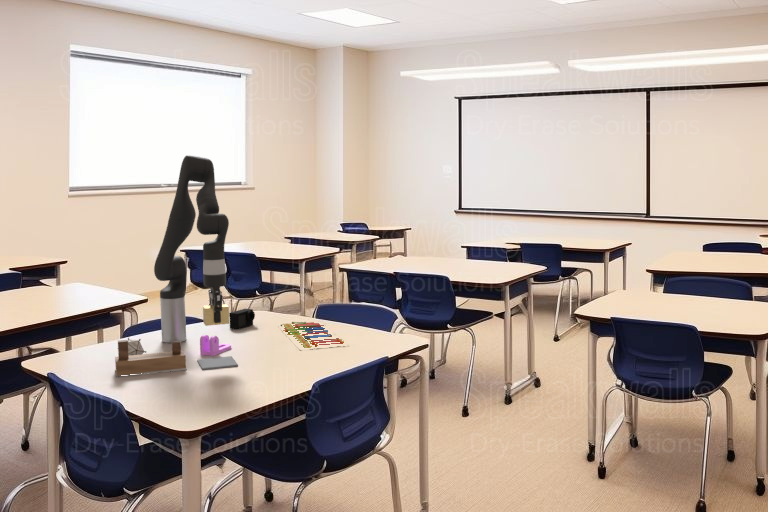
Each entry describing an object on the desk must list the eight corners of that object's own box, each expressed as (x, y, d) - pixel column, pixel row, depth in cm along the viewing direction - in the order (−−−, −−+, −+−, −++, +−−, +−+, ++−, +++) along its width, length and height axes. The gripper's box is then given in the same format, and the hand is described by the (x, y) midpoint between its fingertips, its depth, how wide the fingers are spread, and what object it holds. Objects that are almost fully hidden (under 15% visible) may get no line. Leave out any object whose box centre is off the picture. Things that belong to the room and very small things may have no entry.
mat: (197, 361, 259) (197, 359, 259) (231, 357, 264) (231, 356, 264) (202, 370, 248) (202, 368, 248) (238, 366, 253) (237, 364, 252)
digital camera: (239, 330, 307) (239, 313, 306) (229, 329, 310) (229, 312, 309) (255, 325, 316) (255, 309, 315) (245, 324, 319) (245, 308, 318)
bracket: (212, 356, 266) (212, 337, 266) (200, 354, 269) (199, 336, 268) (234, 347, 278) (233, 329, 277) (221, 346, 280) (221, 328, 280)
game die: (138, 370, 261) (155, 347, 261) (123, 368, 253) (141, 344, 254) (123, 355, 265) (140, 333, 265) (108, 352, 257) (125, 329, 257)
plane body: (115, 371, 247) (113, 339, 246) (184, 364, 255) (182, 333, 254) (116, 377, 240) (114, 344, 239) (186, 369, 248) (185, 337, 247)
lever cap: (203, 323, 255) (202, 304, 254) (226, 321, 258) (226, 302, 257) (205, 325, 251) (204, 306, 250) (229, 323, 254) (228, 304, 253)
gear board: (277, 320, 316) (321, 317, 322) (277, 326, 316) (321, 323, 322) (299, 345, 273) (349, 341, 279) (299, 351, 274) (349, 347, 280)
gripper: (229, 274, 247) (231, 324, 249) (221, 268, 260) (223, 316, 262) (206, 275, 244) (208, 326, 246) (200, 270, 257) (202, 318, 259)
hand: (216, 321), depth 254 cm, fingers closed on lever cap, 4 cm apart
